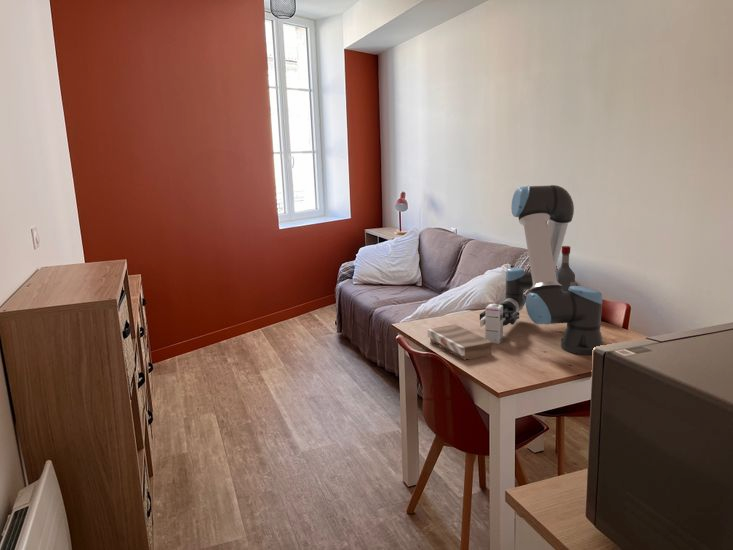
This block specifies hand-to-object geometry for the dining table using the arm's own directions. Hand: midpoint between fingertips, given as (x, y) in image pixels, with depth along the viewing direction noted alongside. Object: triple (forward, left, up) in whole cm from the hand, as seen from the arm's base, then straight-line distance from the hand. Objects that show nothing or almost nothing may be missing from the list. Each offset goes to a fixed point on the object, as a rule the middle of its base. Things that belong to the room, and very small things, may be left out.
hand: (490, 324), depth 205 cm
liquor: (+23, -59, -9) cm, 64 cm away
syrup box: (+3, -4, -9) cm, 10 cm away
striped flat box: (+3, +12, -8) cm, 15 cm away
